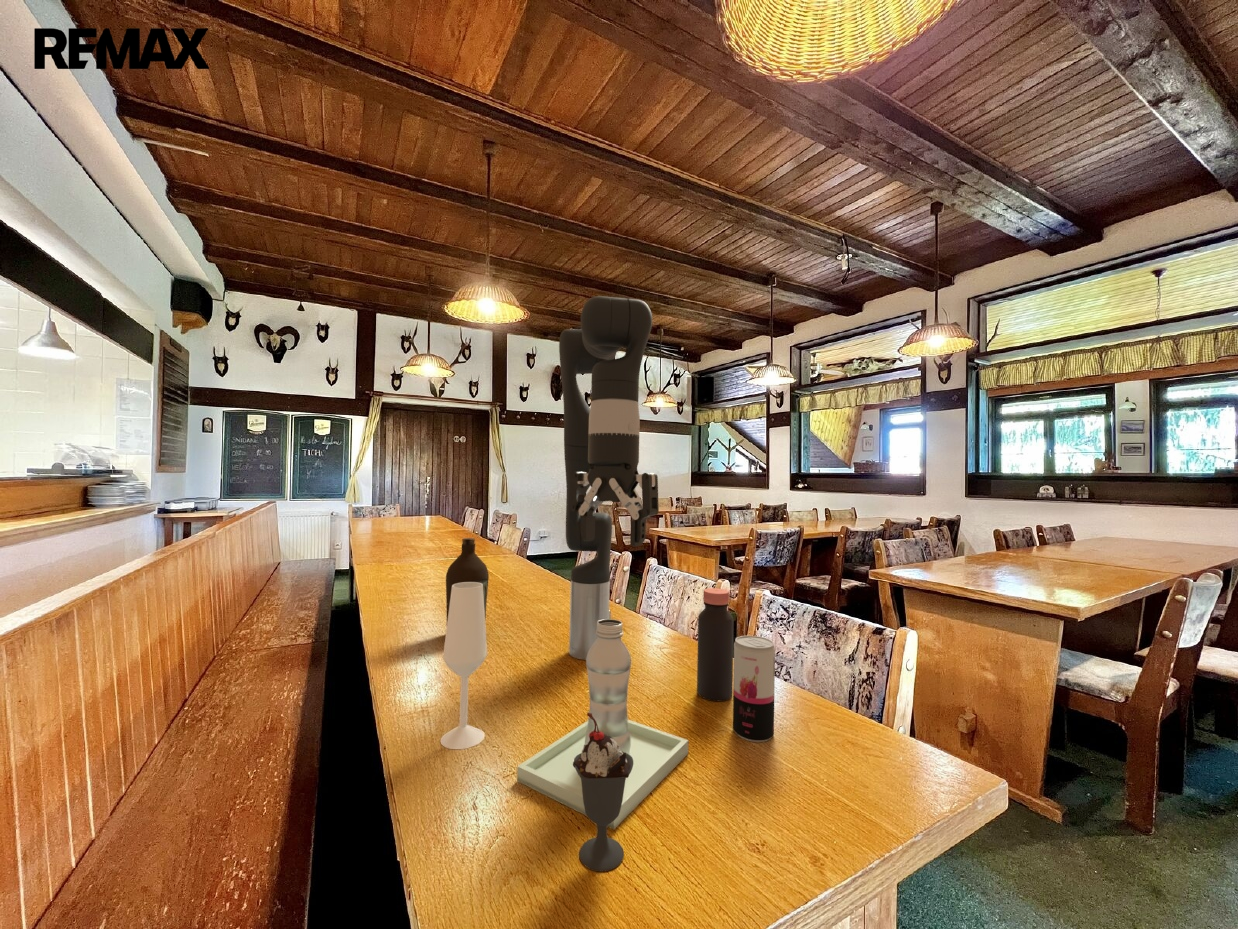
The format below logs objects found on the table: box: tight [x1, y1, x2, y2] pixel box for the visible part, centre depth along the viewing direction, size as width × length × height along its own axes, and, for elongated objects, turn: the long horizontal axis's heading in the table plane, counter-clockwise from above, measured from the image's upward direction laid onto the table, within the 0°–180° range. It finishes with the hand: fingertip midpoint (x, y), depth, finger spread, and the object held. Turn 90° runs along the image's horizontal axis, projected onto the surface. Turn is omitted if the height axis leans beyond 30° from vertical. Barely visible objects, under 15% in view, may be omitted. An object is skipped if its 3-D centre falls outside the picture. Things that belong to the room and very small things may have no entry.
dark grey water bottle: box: [696, 587, 734, 702], centre depth 97 cm, size 7×7×20 cm
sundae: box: [573, 712, 633, 872], centre depth 55 cm, size 7×7×15 cm
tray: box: [516, 719, 689, 830], centre depth 71 cm, size 20×16×2 cm
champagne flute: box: [440, 582, 488, 750], centre depth 79 cm, size 7×7×24 cm
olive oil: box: [445, 537, 489, 622], centre depth 128 cm, size 11×11×25 cm
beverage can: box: [732, 635, 776, 743], centre depth 82 cm, size 7×6×15 cm
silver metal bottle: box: [585, 618, 632, 755], centre depth 72 cm, size 6×7×20 cm
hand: (611, 543), depth 73 cm, fingers open, 8 cm apart
